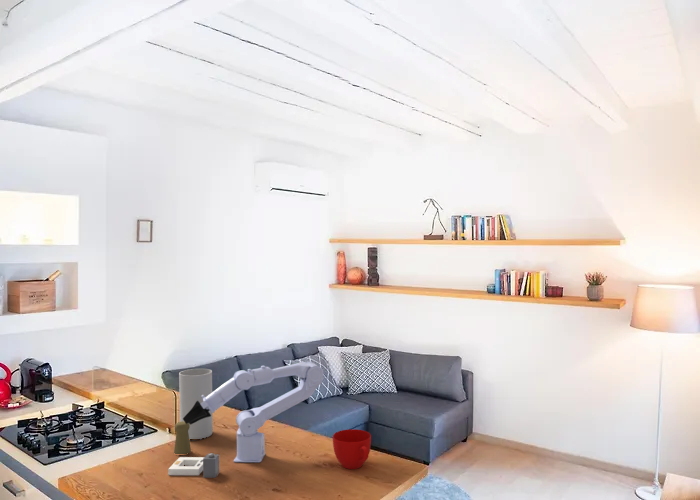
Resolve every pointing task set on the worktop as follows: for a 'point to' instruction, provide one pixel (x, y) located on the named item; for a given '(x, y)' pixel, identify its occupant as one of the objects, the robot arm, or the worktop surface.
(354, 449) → the ceramic cup
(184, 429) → the olive tapered pepper mill
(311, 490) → the worktop surface
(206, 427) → the cylinder vase
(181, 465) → the socket plate
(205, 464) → the plug
